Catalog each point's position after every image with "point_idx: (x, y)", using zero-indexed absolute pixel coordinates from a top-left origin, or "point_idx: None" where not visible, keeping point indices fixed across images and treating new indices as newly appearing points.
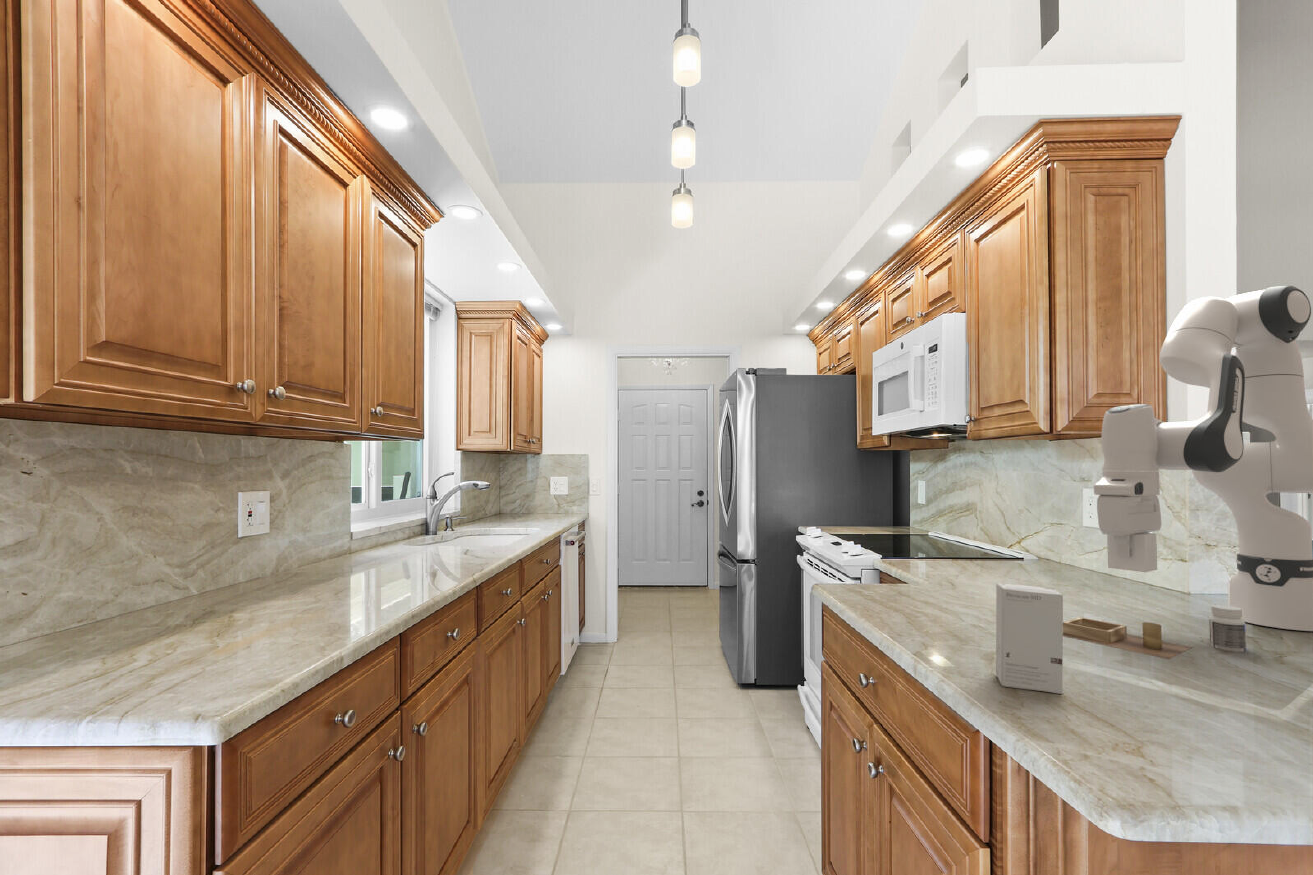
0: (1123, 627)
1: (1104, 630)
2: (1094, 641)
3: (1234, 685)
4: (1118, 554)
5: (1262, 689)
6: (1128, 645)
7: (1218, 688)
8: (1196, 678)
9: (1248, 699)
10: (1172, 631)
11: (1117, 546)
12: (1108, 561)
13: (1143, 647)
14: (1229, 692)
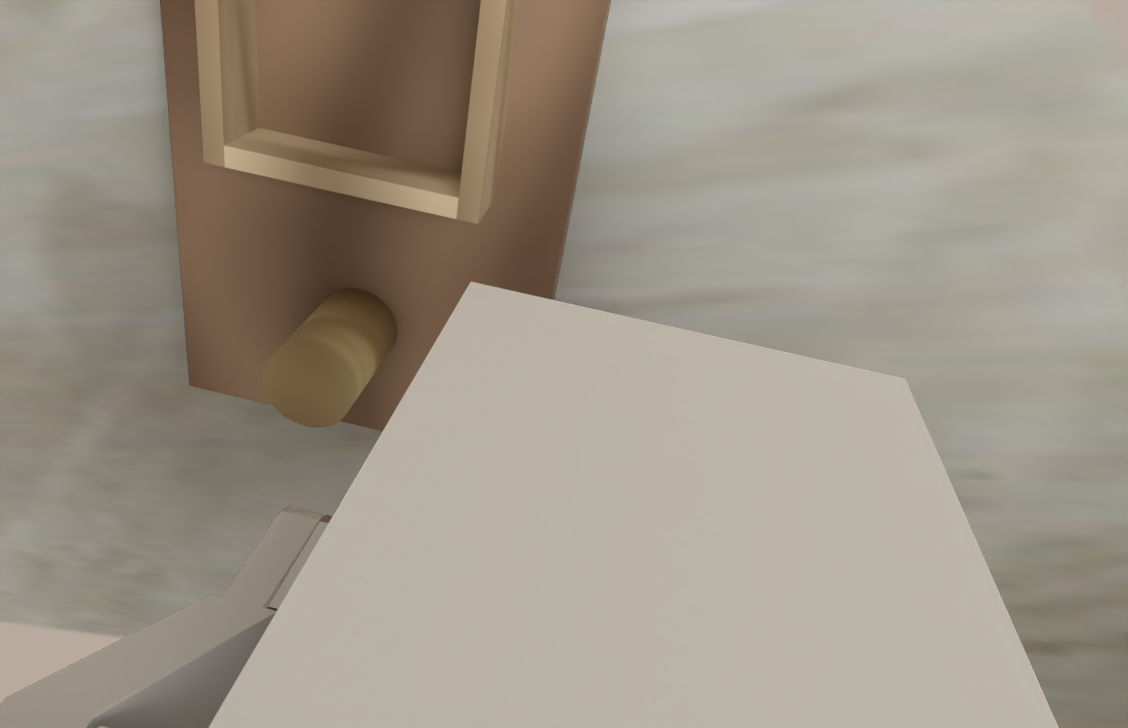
0: (427, 212)
1: (217, 132)
2: (193, 67)
3: (162, 529)
4: (274, 528)
5: (196, 583)
6: (279, 230)
7: (74, 491)
8: (128, 444)
9: (42, 545)
10: (1060, 365)
11: (175, 621)
12: (443, 329)
13: (303, 292)
14: (62, 513)
